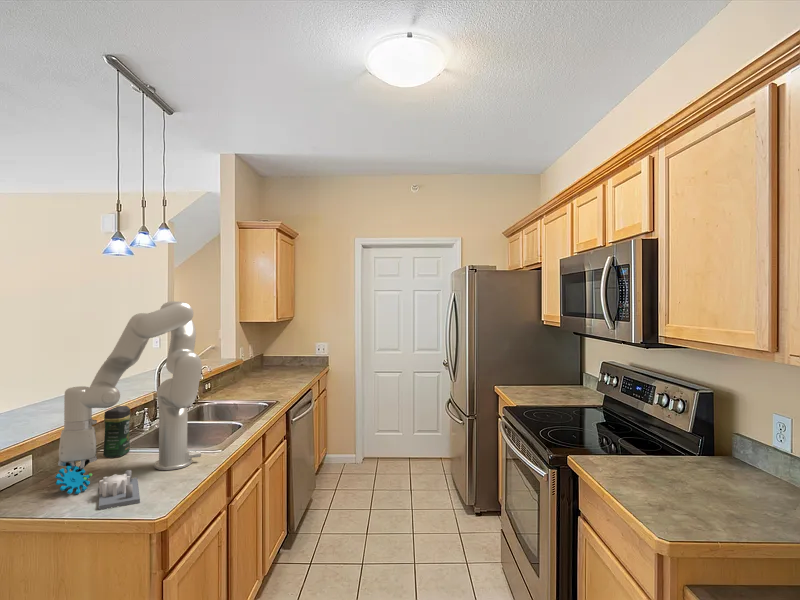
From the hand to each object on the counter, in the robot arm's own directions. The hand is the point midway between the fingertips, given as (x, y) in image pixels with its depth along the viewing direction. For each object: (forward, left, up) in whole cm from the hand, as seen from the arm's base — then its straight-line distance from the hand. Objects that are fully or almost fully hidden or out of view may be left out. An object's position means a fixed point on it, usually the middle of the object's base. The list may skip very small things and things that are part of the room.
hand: (77, 481), depth 161 cm
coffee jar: (-11, -30, -2) cm, 32 cm away
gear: (0, +5, -2) cm, 6 cm away
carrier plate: (-12, +15, -1) cm, 19 cm away
